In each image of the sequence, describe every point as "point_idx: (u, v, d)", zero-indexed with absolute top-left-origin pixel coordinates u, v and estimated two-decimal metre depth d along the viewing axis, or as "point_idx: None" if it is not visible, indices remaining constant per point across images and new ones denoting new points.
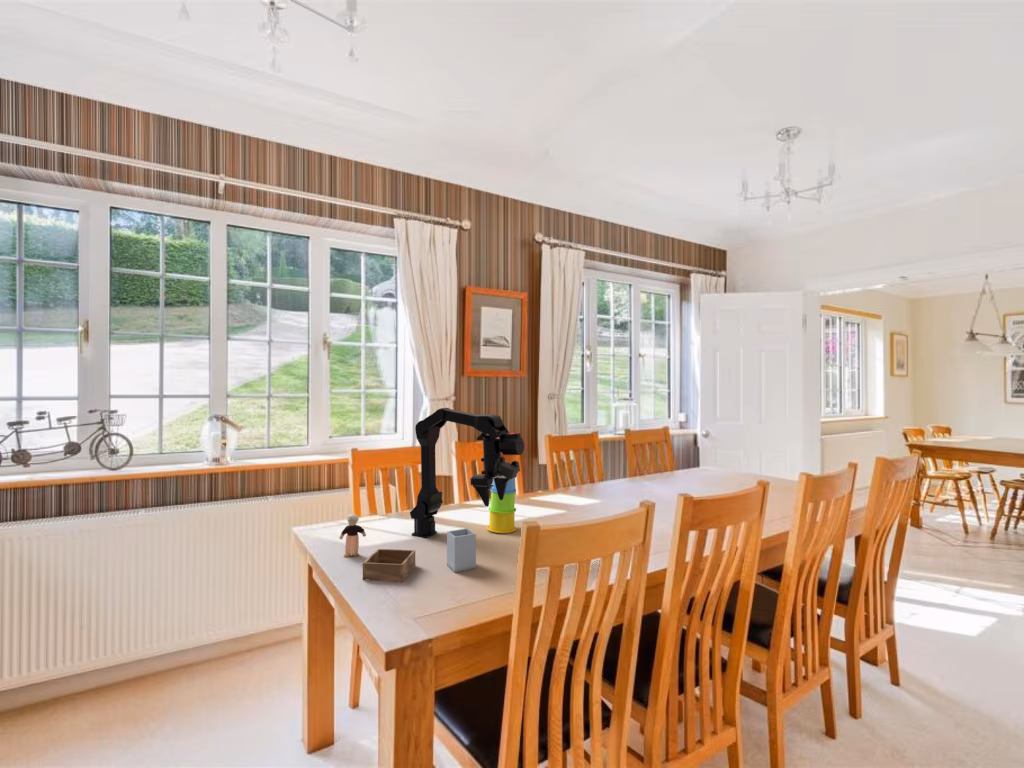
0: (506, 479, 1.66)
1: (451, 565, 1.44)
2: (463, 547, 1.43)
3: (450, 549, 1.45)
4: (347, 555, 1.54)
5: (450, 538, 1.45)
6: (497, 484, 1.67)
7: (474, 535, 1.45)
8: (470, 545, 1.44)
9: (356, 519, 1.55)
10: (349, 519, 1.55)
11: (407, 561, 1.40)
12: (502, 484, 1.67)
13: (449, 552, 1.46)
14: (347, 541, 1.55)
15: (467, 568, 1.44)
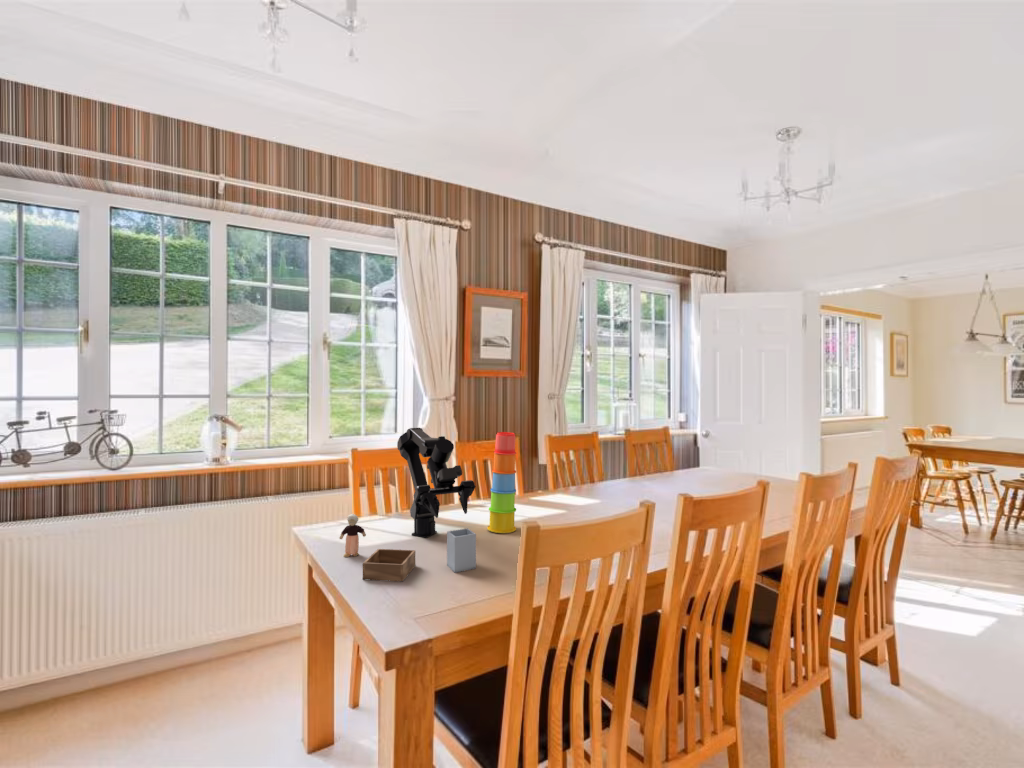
0: (463, 490, 1.58)
1: (451, 565, 1.44)
2: (463, 547, 1.43)
3: (450, 549, 1.45)
4: (347, 555, 1.54)
5: (450, 538, 1.45)
6: (461, 501, 1.59)
7: (474, 535, 1.45)
8: (470, 545, 1.44)
9: (356, 519, 1.55)
10: (349, 519, 1.55)
11: (407, 561, 1.40)
12: (462, 498, 1.58)
13: (449, 552, 1.46)
14: (347, 541, 1.55)
15: (467, 568, 1.44)
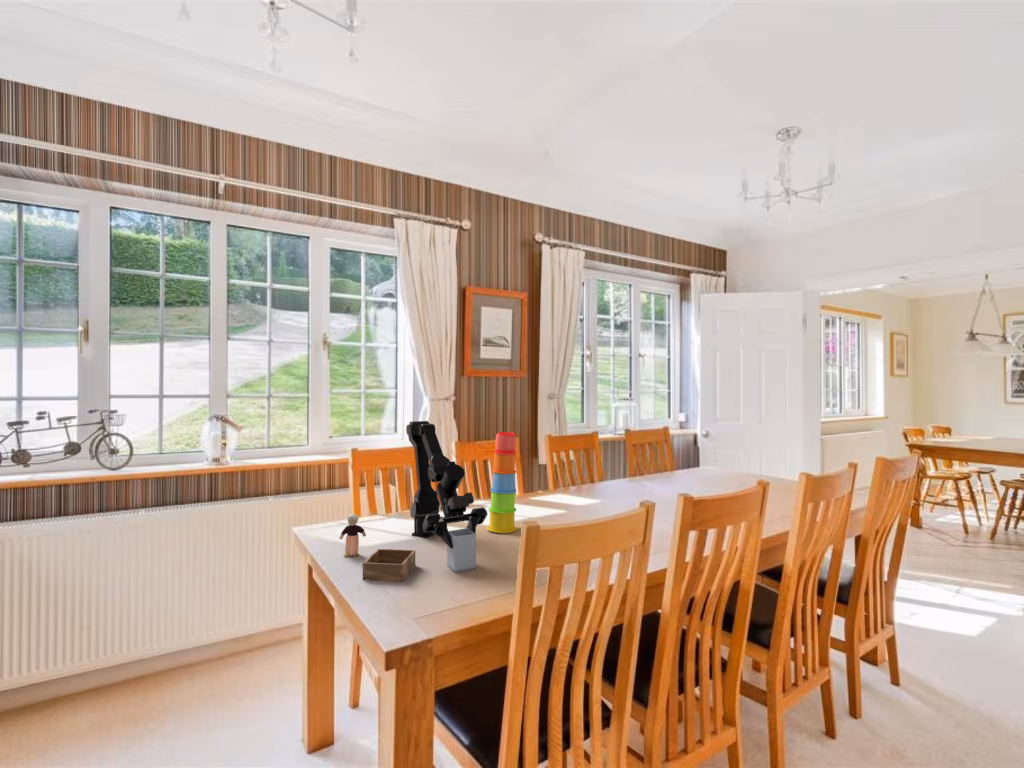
0: (471, 519, 1.50)
1: (451, 565, 1.44)
2: (463, 547, 1.43)
3: (450, 549, 1.45)
4: (347, 555, 1.54)
5: None
6: None
7: (474, 535, 1.45)
8: (470, 545, 1.44)
9: (356, 519, 1.55)
10: (349, 519, 1.55)
11: (407, 561, 1.40)
12: (470, 527, 1.49)
13: (449, 552, 1.46)
14: (347, 541, 1.55)
15: (467, 568, 1.44)
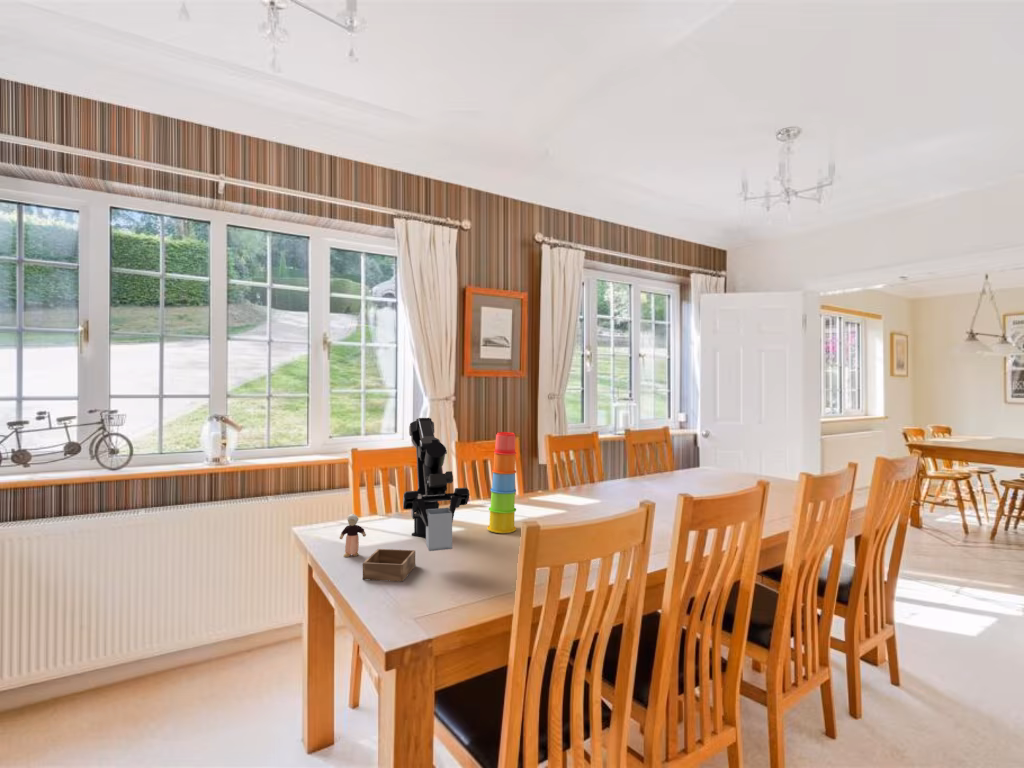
0: (451, 499, 1.46)
1: (427, 543, 1.42)
2: (438, 526, 1.40)
3: (427, 527, 1.43)
4: (347, 555, 1.54)
5: (427, 516, 1.43)
6: None
7: (450, 514, 1.41)
8: (445, 525, 1.41)
9: (356, 519, 1.55)
10: (349, 519, 1.55)
11: (407, 561, 1.40)
12: (450, 506, 1.46)
13: (426, 530, 1.43)
14: (347, 541, 1.55)
15: (442, 548, 1.41)
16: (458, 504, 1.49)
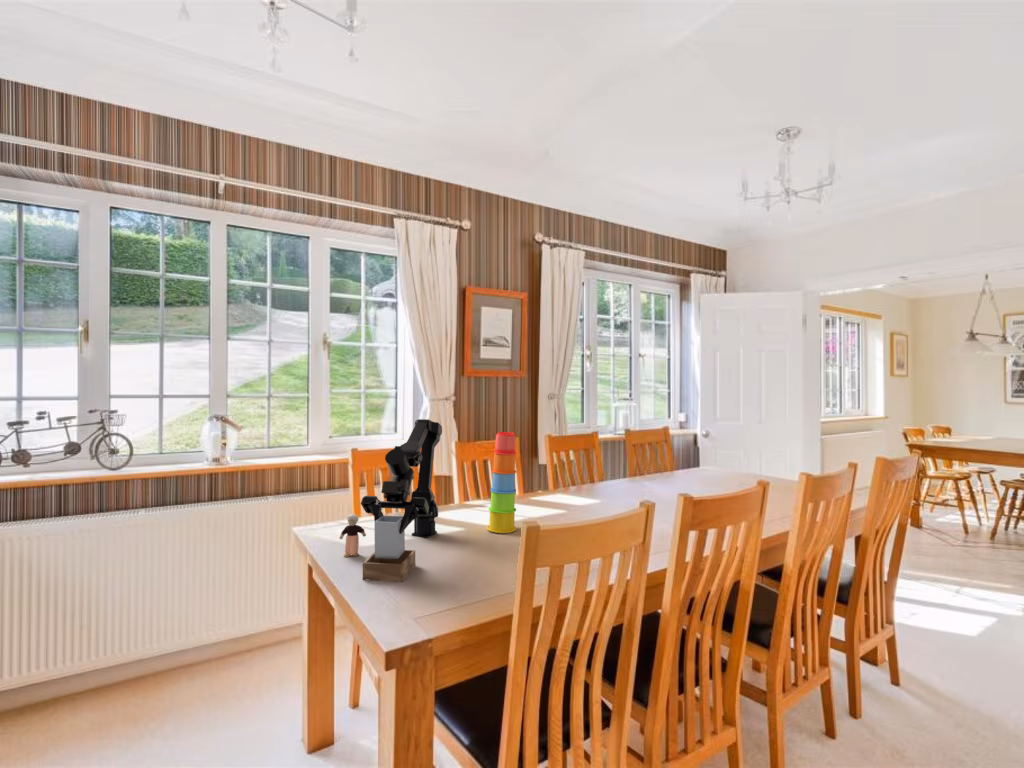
0: None
1: None
2: (384, 534, 1.39)
3: None
4: (347, 555, 1.54)
5: None
6: None
7: (395, 524, 1.39)
8: (391, 533, 1.39)
9: (356, 519, 1.55)
10: (349, 519, 1.55)
11: (407, 561, 1.40)
12: None
13: None
14: (347, 541, 1.55)
15: (388, 556, 1.39)
16: (416, 514, 1.45)
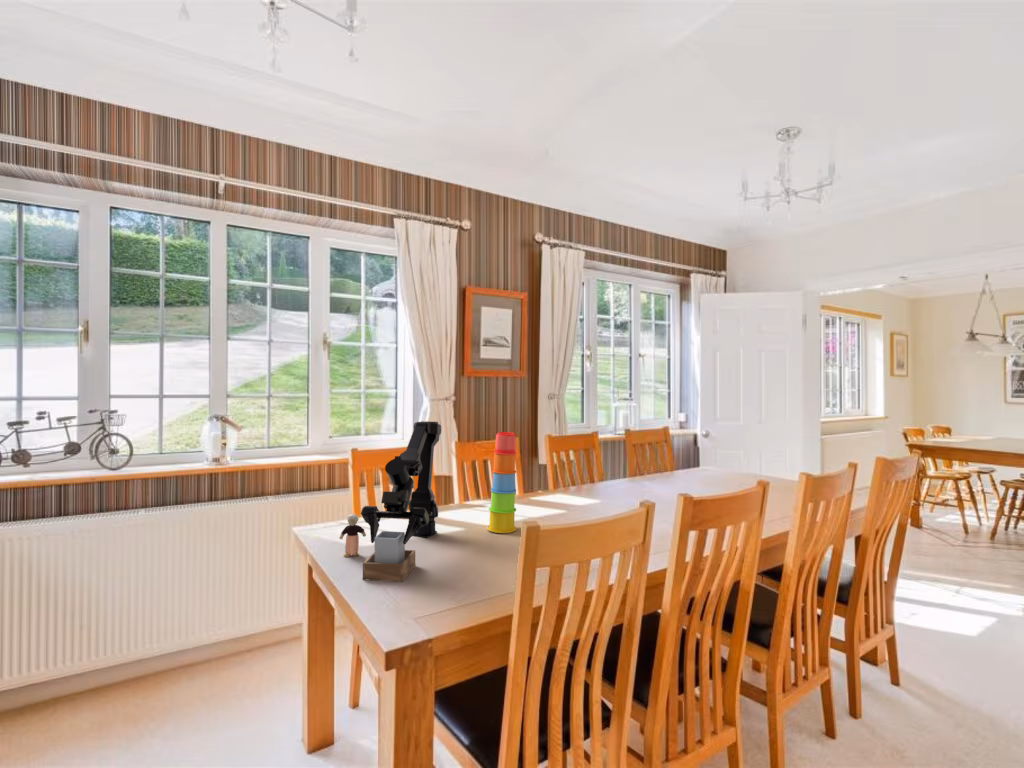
0: None
1: None
2: (383, 550, 1.39)
3: None
4: (347, 555, 1.54)
5: None
6: None
7: (395, 540, 1.39)
8: (390, 550, 1.39)
9: (356, 519, 1.55)
10: (349, 519, 1.55)
11: (407, 561, 1.40)
12: None
13: None
14: (347, 541, 1.55)
15: None
16: (420, 524, 1.45)
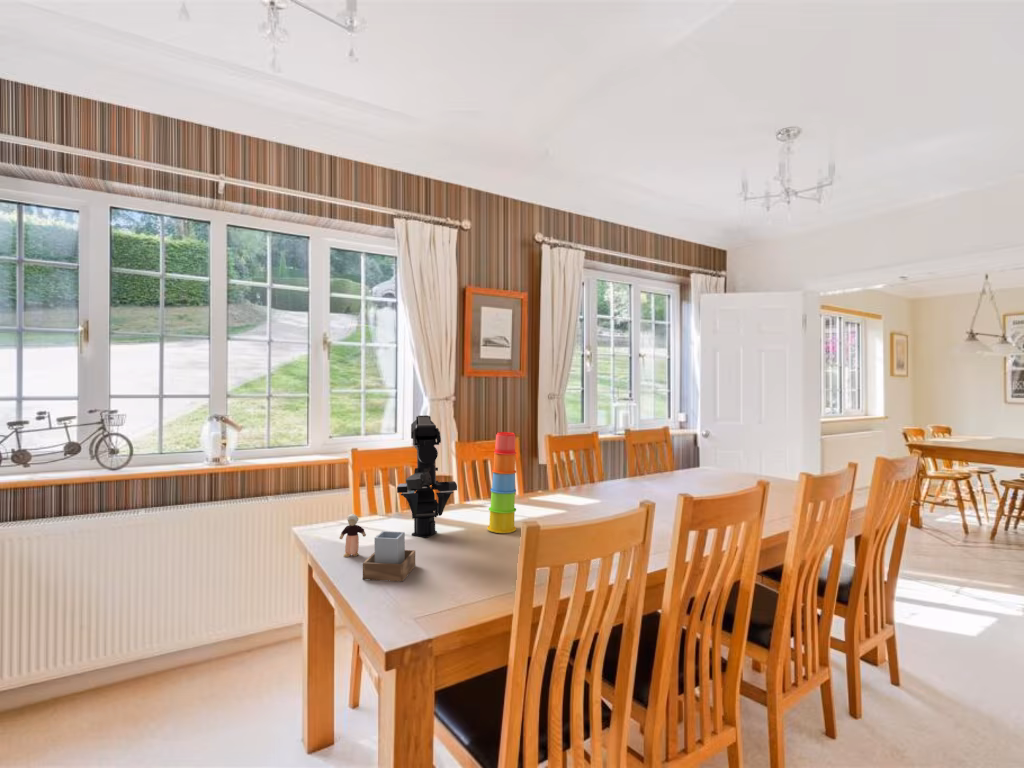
0: None
1: None
2: (383, 550, 1.39)
3: None
4: (347, 555, 1.54)
5: None
6: None
7: (395, 540, 1.39)
8: (390, 550, 1.39)
9: (356, 519, 1.55)
10: (349, 519, 1.55)
11: (407, 561, 1.40)
12: None
13: None
14: (347, 541, 1.55)
15: None
16: (449, 493, 1.56)
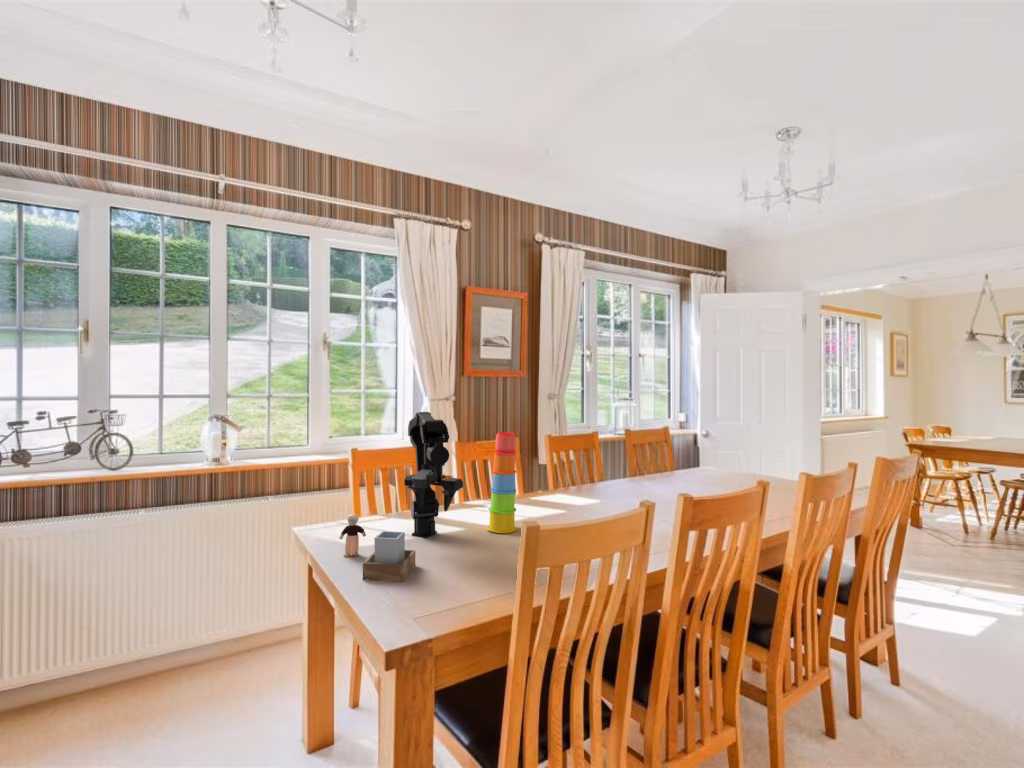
0: None
1: None
2: (383, 550, 1.39)
3: None
4: (347, 555, 1.54)
5: None
6: None
7: (395, 540, 1.39)
8: (390, 550, 1.39)
9: (356, 519, 1.55)
10: (349, 519, 1.55)
11: (407, 561, 1.40)
12: None
13: None
14: (347, 541, 1.55)
15: None
16: None
